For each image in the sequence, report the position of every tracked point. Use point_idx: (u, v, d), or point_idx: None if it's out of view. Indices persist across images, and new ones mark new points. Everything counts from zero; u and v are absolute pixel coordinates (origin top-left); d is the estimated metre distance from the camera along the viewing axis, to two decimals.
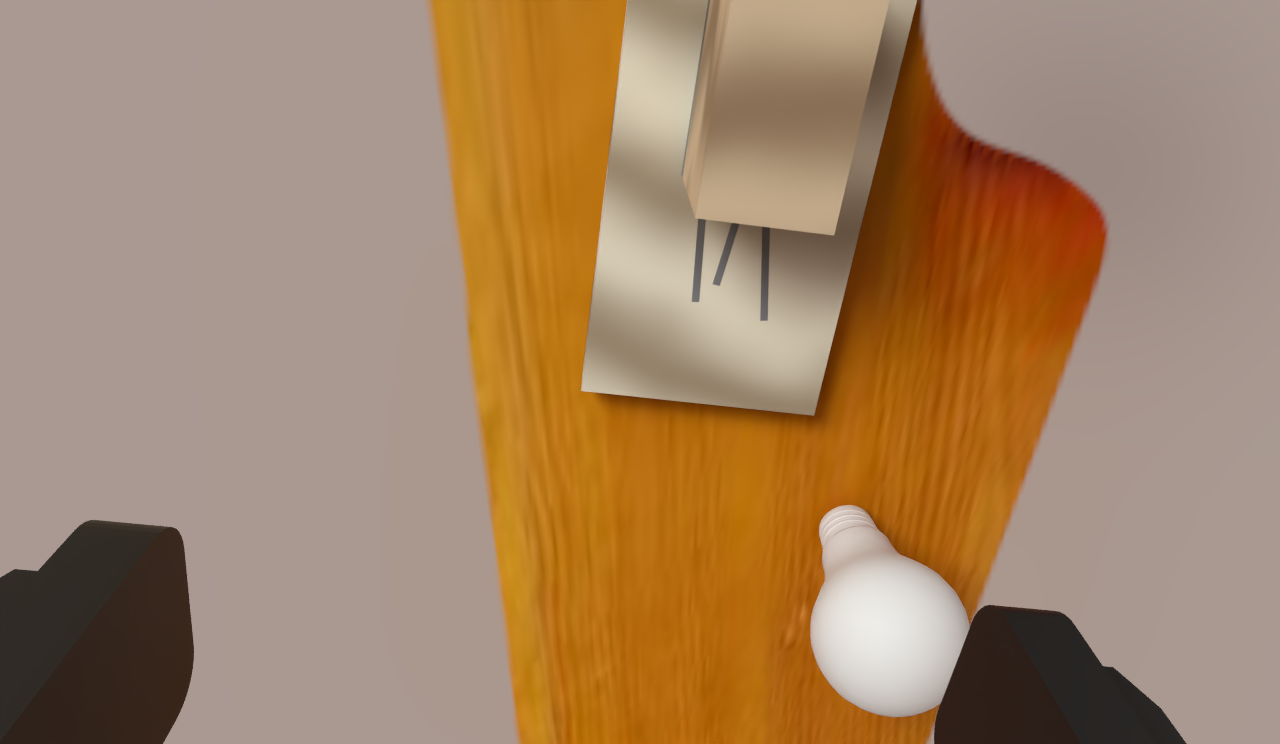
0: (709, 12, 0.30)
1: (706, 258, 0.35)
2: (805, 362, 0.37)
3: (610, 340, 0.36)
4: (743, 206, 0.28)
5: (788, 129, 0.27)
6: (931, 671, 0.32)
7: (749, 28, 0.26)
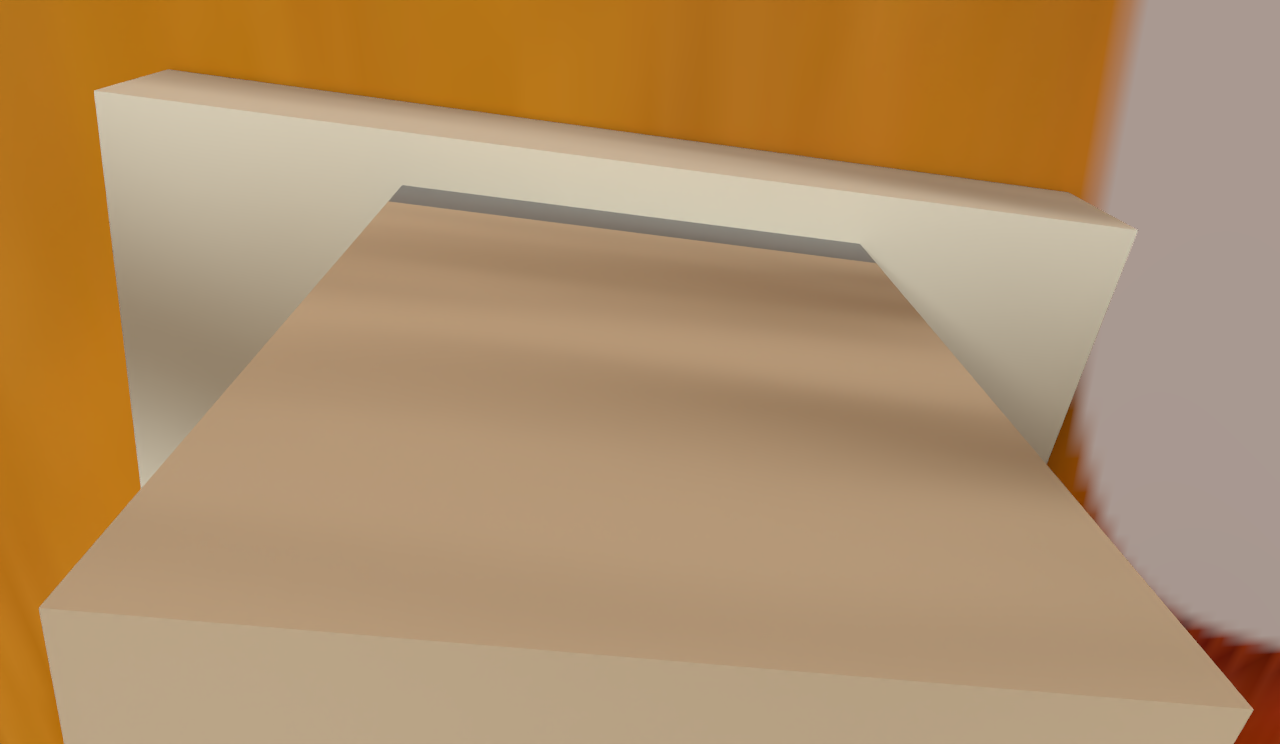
0: None
1: None
2: None
3: None
4: None
5: None
6: None
7: None
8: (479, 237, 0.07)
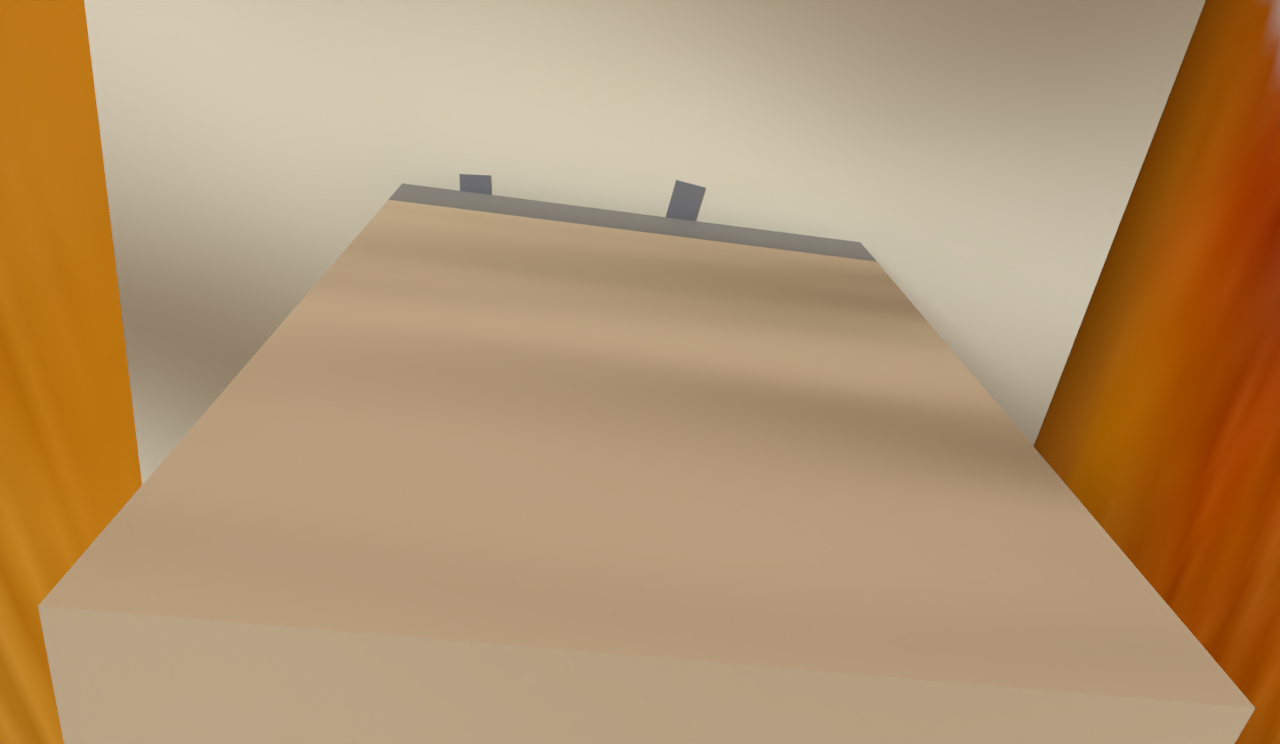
0: None
1: None
2: None
3: None
4: None
5: None
6: None
7: None
8: (479, 235, 0.07)
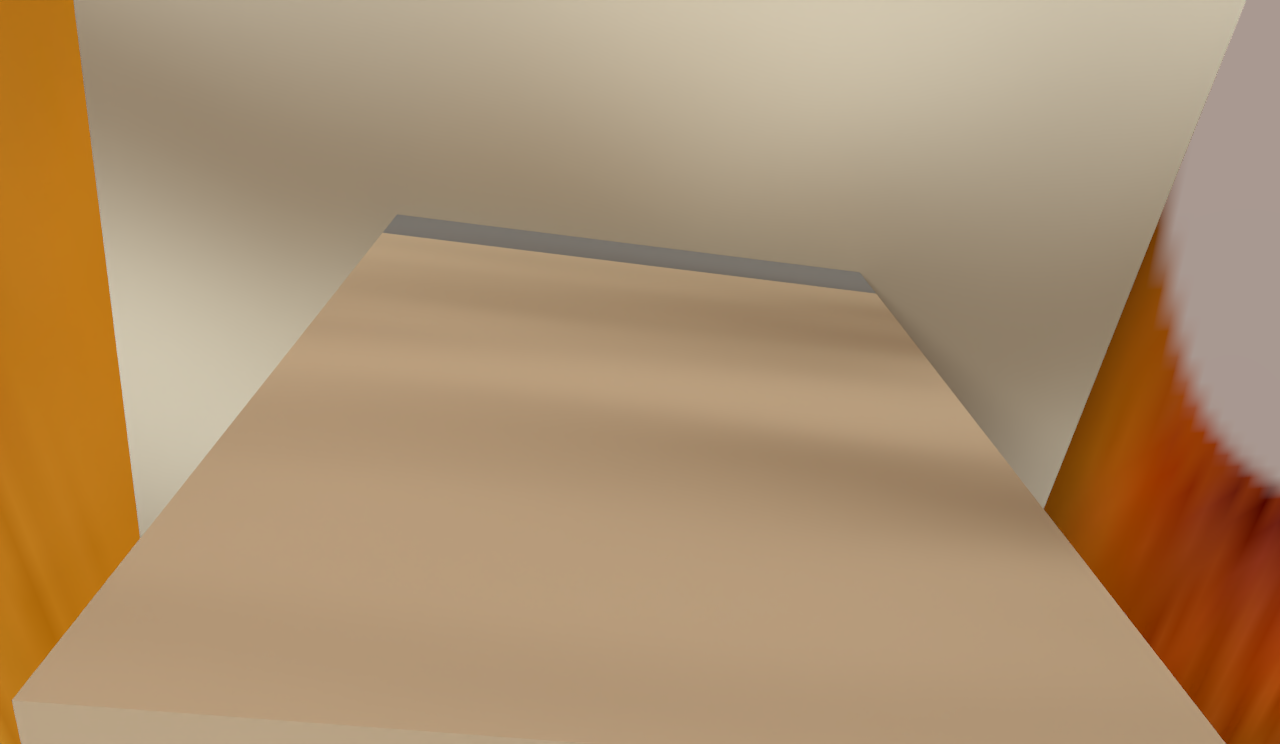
0: None
1: None
2: None
3: None
4: None
5: None
6: None
7: None
8: (474, 271, 0.07)
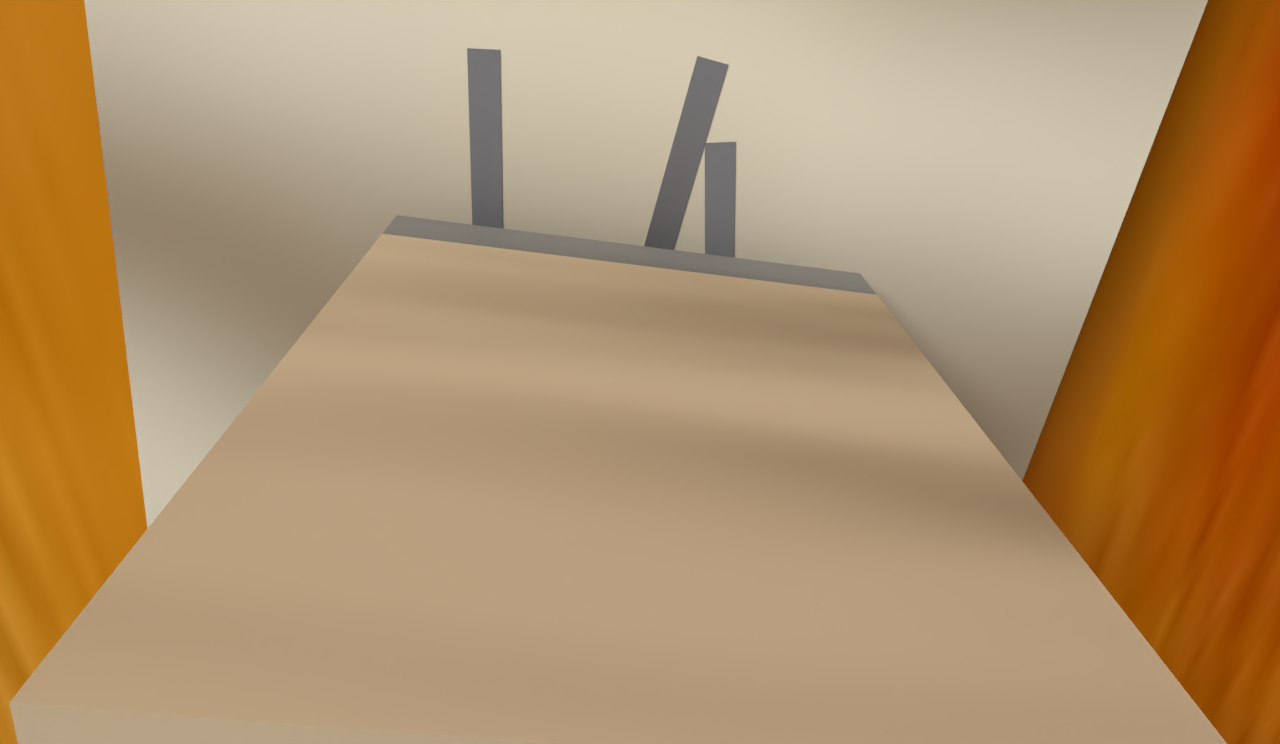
0: None
1: None
2: None
3: None
4: None
5: None
6: None
7: None
8: (474, 272, 0.07)
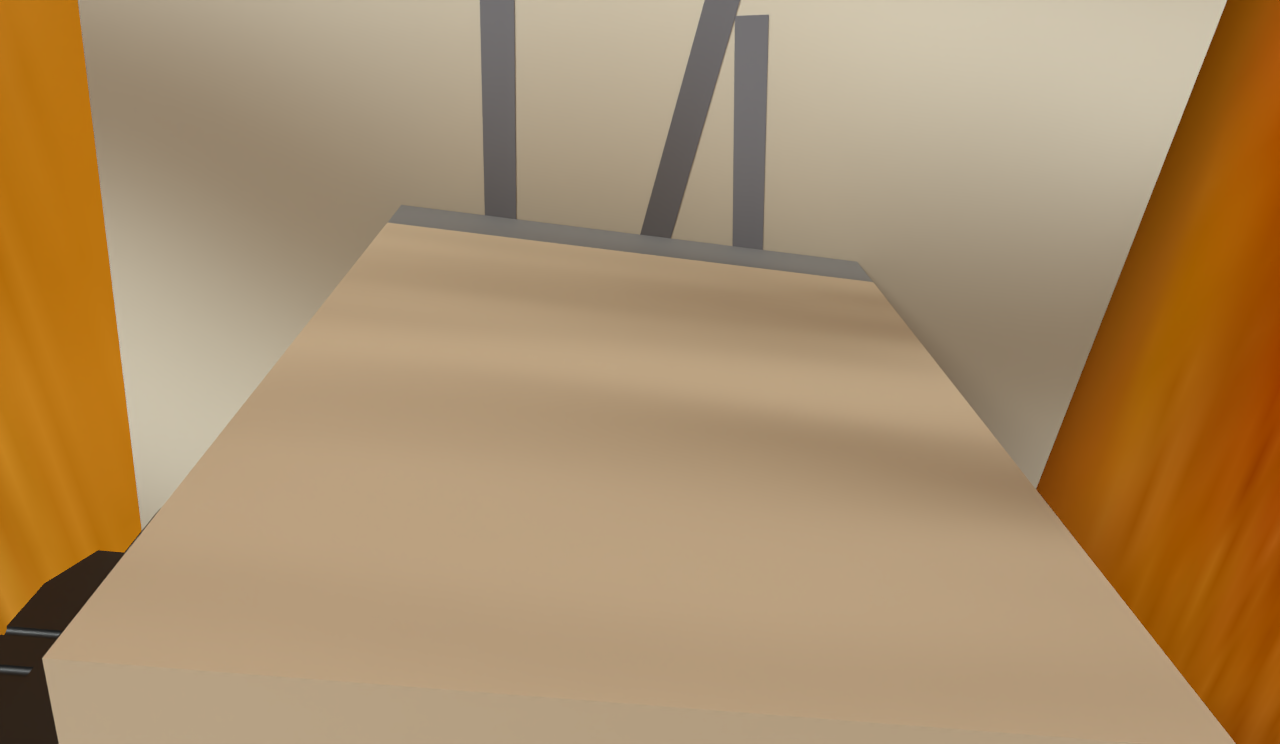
0: None
1: None
2: None
3: None
4: None
5: None
6: None
7: None
8: (478, 259, 0.07)
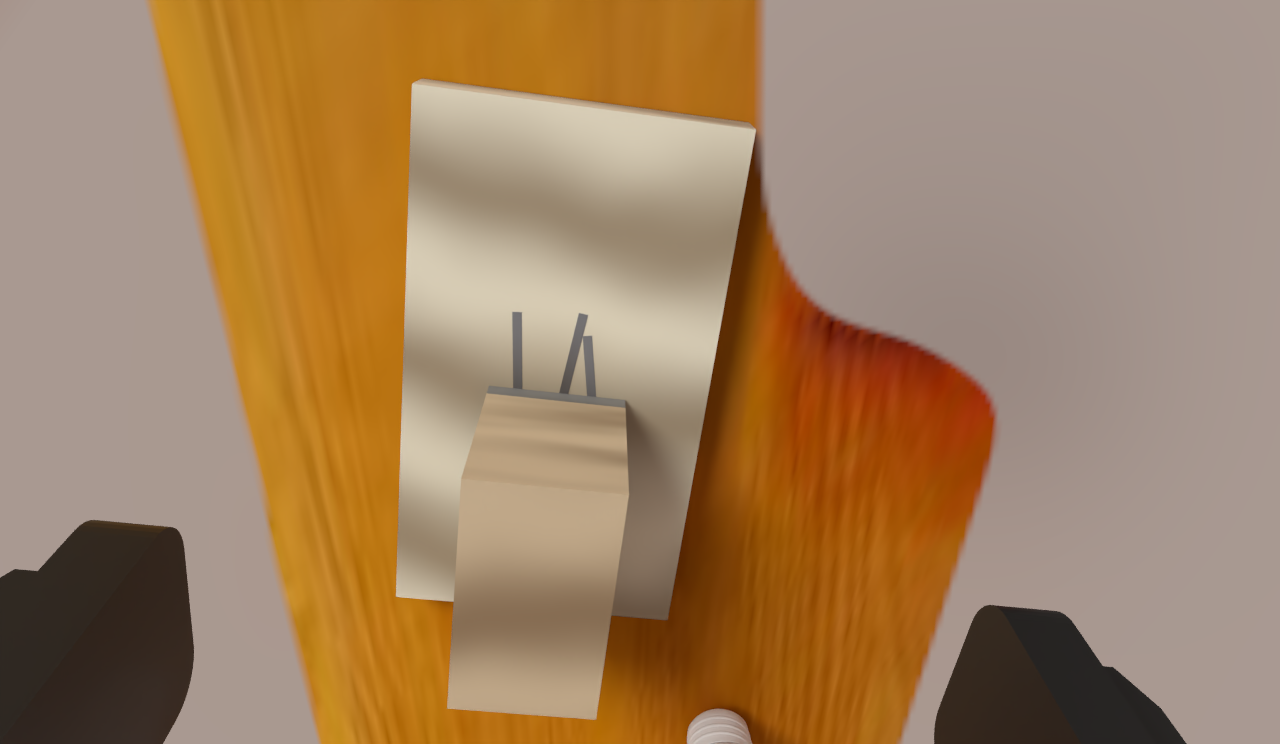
0: None
1: None
2: (652, 564, 0.32)
3: (424, 543, 0.32)
4: (496, 697, 0.27)
5: (533, 633, 0.26)
6: None
7: (480, 552, 0.25)
8: (512, 405, 0.28)
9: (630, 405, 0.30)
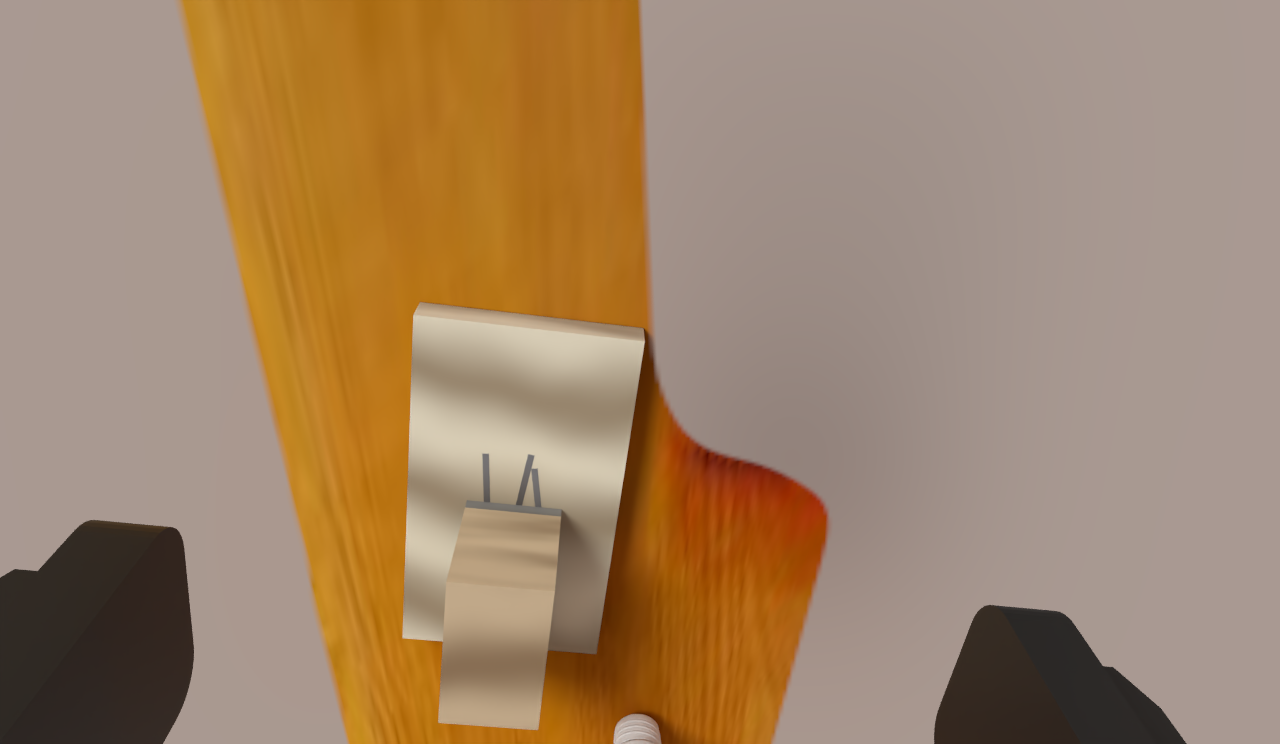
0: None
1: None
2: (584, 616, 0.45)
3: (422, 602, 0.45)
4: (471, 715, 0.40)
5: (495, 675, 0.39)
6: None
7: (459, 626, 0.38)
8: (482, 518, 0.41)
9: (565, 512, 0.43)
